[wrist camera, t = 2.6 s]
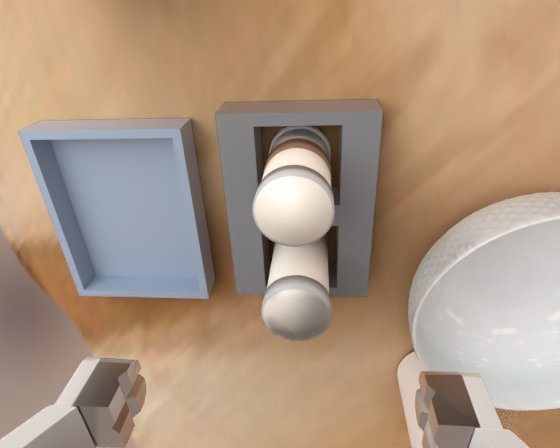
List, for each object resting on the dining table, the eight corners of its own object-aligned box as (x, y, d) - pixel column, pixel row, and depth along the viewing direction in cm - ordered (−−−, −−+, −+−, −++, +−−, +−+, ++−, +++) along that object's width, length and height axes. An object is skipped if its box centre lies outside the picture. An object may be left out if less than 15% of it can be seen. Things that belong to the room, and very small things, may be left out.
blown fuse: (329, 178, 29) (333, 247, 21) (272, 178, 29) (255, 246, 22) (331, 120, 27) (335, 173, 19) (268, 122, 27) (249, 174, 20)
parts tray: (215, 279, 35) (208, 298, 33) (93, 277, 36) (79, 295, 34) (190, 117, 28) (179, 128, 26) (40, 120, 29) (17, 131, 27)
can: (383, 359, 38) (408, 498, 28) (449, 333, 36) (502, 474, 25) (415, 398, 40) (449, 539, 30) (478, 376, 38) (538, 520, 28)
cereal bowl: (601, 118, 26) (690, 158, 19) (648, 296, 32) (726, 368, 26) (359, 230, 31) (369, 289, 25) (441, 363, 38) (464, 435, 32)
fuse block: (363, 272, 33) (376, 359, 25) (243, 270, 34) (220, 353, 26) (376, 98, 26) (401, 145, 18) (224, 102, 27) (186, 147, 19)
